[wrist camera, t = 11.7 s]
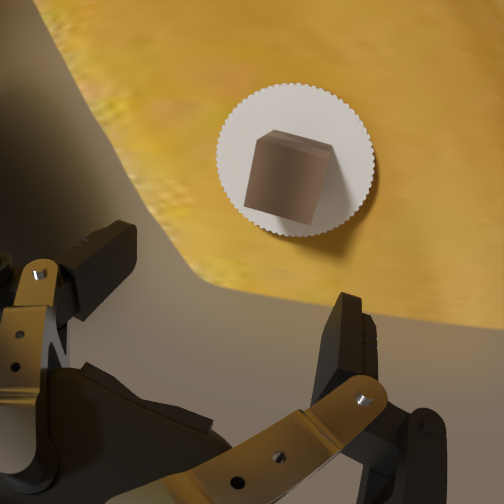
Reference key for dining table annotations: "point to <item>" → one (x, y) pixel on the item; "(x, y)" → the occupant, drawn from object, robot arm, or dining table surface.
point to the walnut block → (287, 176)
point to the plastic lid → (305, 125)
